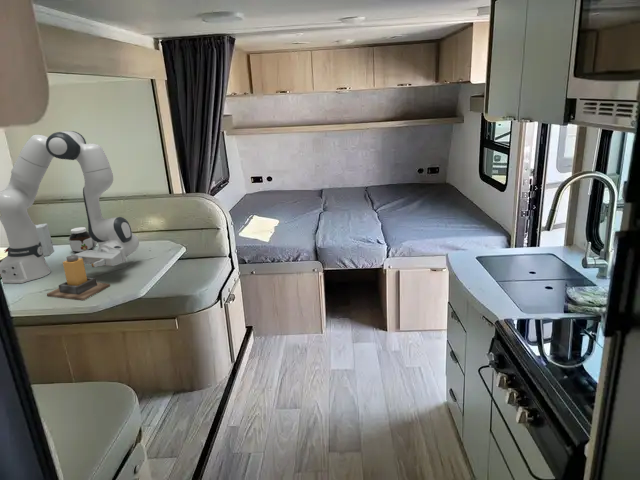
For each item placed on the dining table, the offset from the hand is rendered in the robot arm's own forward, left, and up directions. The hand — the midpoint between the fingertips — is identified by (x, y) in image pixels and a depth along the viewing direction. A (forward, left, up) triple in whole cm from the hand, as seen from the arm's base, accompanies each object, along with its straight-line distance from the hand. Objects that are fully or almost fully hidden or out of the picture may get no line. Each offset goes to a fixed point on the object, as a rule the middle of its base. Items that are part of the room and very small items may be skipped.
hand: (83, 264), depth 187 cm
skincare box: (-42, +47, -10) cm, 63 cm away
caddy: (-2, -4, -9) cm, 11 cm away
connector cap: (-2, -4, -8) cm, 10 cm away
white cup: (-10, +45, -10) cm, 47 cm away
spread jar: (-24, +51, -10) cm, 57 cm away
